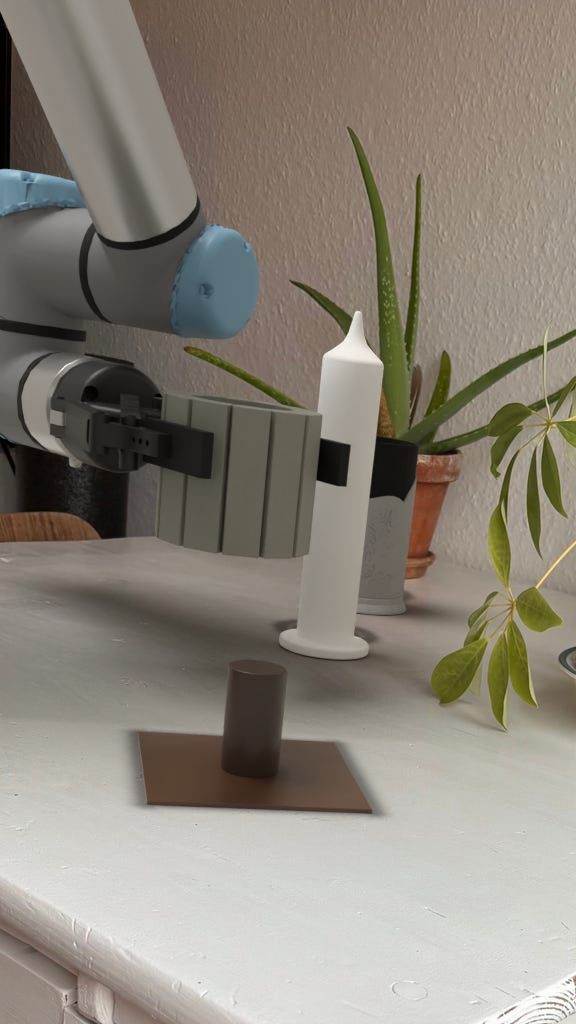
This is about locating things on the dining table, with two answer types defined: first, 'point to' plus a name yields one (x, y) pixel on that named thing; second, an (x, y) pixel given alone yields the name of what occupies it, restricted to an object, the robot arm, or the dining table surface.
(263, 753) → the peg stand
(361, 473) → the candle
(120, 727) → the dining table surface
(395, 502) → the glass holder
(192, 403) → the slatted planter pot
